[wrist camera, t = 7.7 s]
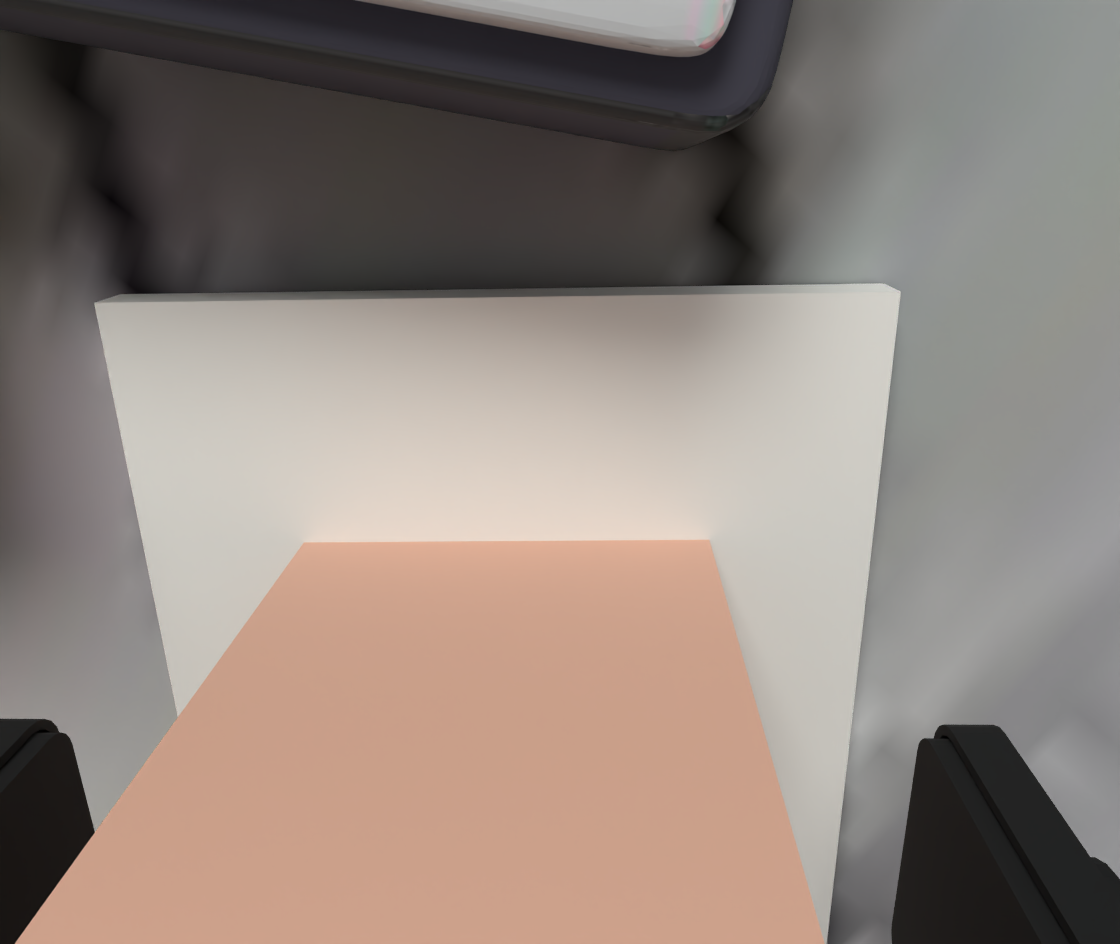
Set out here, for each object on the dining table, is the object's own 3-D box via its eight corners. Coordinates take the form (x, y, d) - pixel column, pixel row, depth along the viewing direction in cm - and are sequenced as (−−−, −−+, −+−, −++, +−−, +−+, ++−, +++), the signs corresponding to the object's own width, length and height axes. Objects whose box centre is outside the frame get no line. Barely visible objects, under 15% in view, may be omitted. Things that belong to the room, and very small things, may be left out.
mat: (884, 283, 10) (901, 291, 10) (808, 984, 14) (817, 1018, 14) (119, 293, 11) (94, 303, 10) (250, 973, 14) (236, 1008, 14)
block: (709, 539, 11) (833, 970, 5) (697, 861, 13) (779, 1445, 7) (303, 542, 11) (2, 958, 5) (347, 858, 13) (154, 1421, 7)
